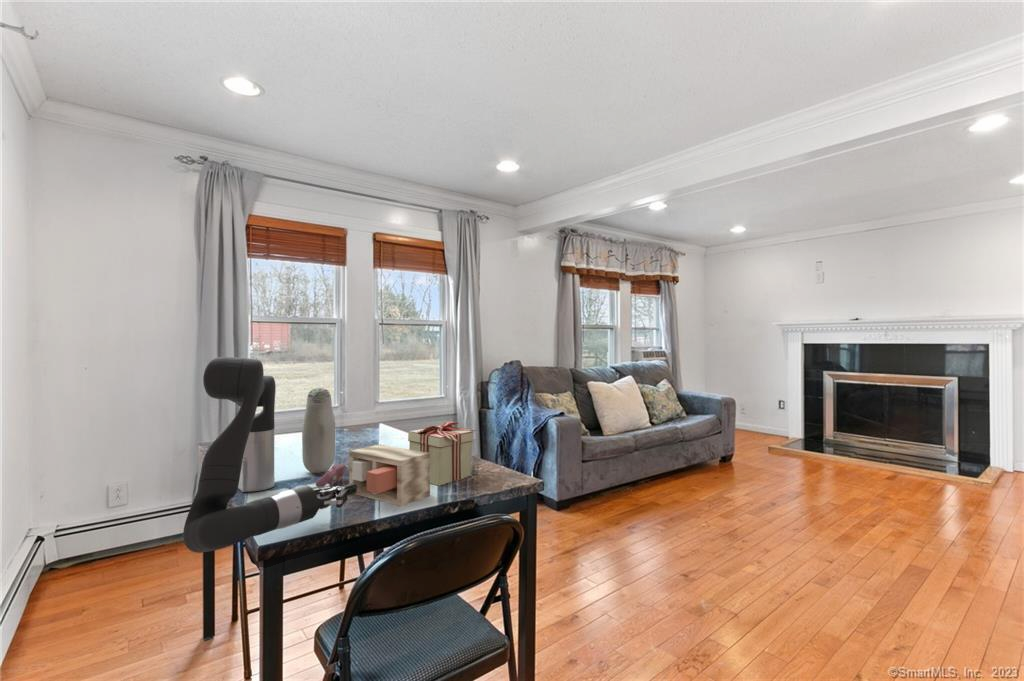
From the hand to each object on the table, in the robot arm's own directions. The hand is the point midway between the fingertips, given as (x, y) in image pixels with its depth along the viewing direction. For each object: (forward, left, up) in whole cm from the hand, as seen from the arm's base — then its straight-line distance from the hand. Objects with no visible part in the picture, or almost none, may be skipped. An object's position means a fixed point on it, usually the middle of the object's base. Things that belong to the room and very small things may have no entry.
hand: (354, 487), depth 122 cm
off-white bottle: (+8, +47, -7) cm, 48 cm away
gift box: (+36, +14, -7) cm, 40 cm away
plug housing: (+14, +10, -7) cm, 19 cm away
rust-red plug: (+9, +2, -3) cm, 10 cm away
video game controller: (+7, +31, -7) cm, 33 cm away
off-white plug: (+11, +15, -2) cm, 19 cm away
